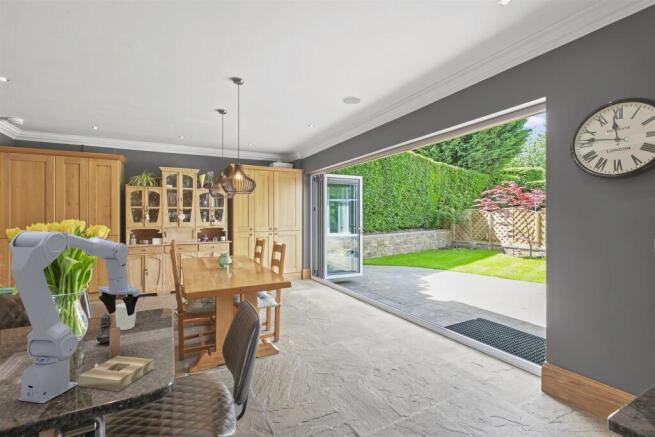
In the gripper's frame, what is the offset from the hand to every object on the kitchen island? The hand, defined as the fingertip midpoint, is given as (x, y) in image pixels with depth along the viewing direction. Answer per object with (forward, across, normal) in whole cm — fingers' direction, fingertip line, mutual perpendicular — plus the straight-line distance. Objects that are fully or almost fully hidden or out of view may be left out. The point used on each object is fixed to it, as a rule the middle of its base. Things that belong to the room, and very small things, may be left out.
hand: (121, 313), depth 109 cm
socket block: (+11, -13, +16) cm, 24 cm away
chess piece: (+15, +12, -3) cm, 20 cm away
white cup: (+18, +19, -20) cm, 33 cm away
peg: (+13, 0, +5) cm, 14 cm away
